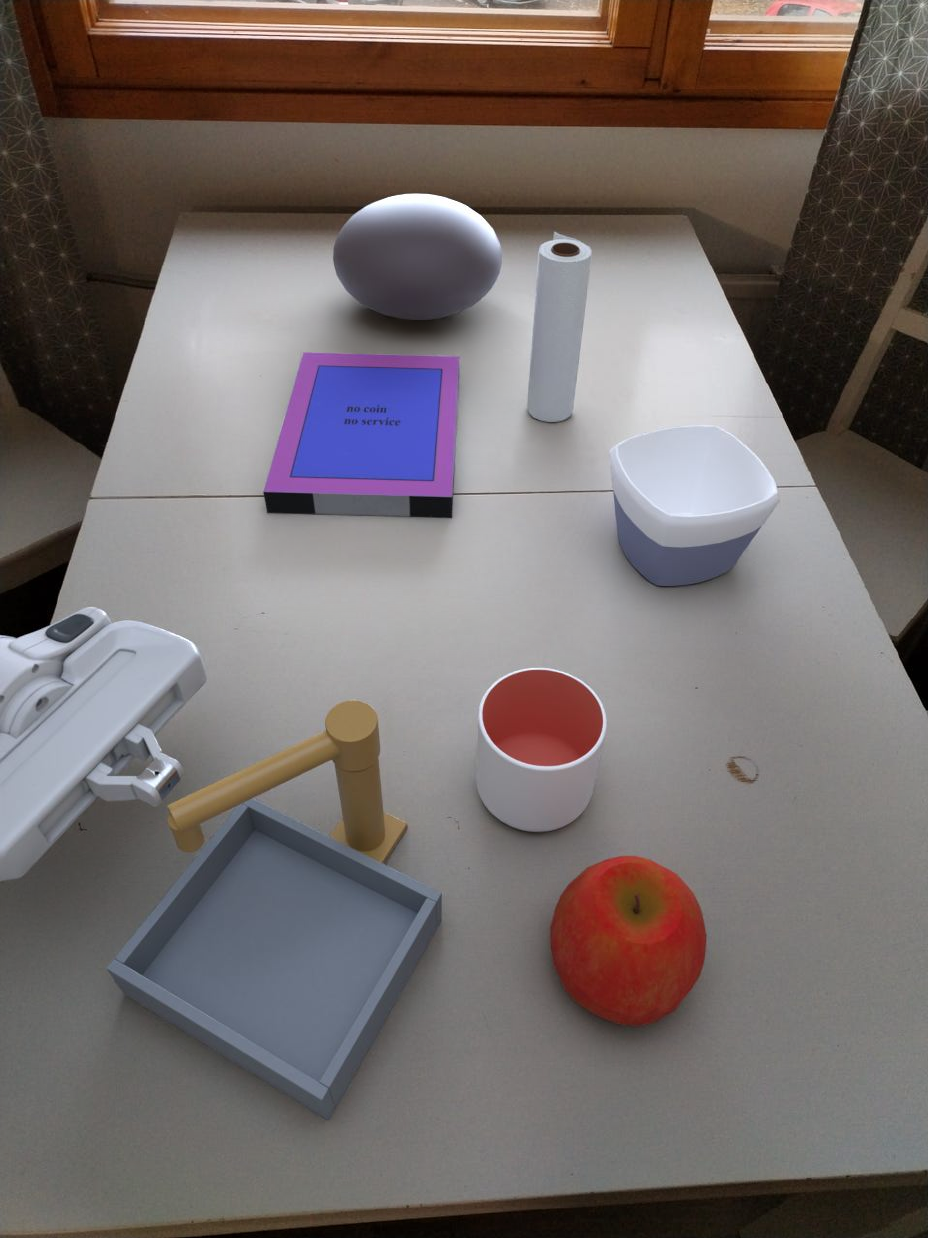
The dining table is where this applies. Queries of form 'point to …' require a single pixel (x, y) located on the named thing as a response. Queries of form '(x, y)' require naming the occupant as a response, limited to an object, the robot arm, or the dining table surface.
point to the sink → (281, 952)
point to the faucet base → (366, 815)
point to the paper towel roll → (557, 327)
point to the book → (368, 437)
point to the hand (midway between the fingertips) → (169, 785)
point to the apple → (628, 940)
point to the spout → (281, 770)
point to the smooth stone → (417, 256)
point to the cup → (538, 748)
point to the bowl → (688, 501)
